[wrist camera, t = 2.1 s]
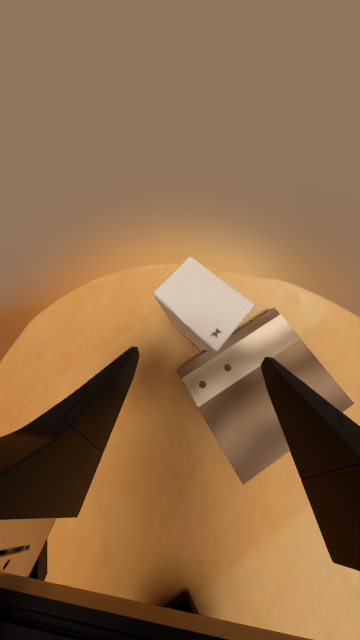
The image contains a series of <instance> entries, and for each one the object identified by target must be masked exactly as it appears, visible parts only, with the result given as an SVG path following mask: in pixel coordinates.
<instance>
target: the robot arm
mask: <svg viewBox="0 0 360 640" xmlns="http://www.w3.org/2000/svg"><path fill="white" fill-rule="evenodd" d="M138 360H139V351H138V348H137V347H130V348H129V349H128V350H127V351H125V352H124V353H123V354H122V355H120V356H119V357H118V358H117V359H115V360H114V361H113V362H111V363H110V364H109V365H108V366H106V367H105V368H104V369H103V370H101V371H100V372H99V373H98V374H96V375H95V376H94V377H93V378H91V379H90V380H89V381H87V382H86V383H85V384H84V385H82V386H81V387H80V388H79V389H77V390H76V391H75V392H73V393H72V394H71V395H69V396H68V397H67V398H65V399H64V400H62V401H61V402H60V403H58V404H57V405H55V406H54V407H52V408H51V409H49V410H48V411H47V412H45V413H44V414H42V415H41V416H39V417H38V418H37V419H35V420H34V421H32V422H31V423H29V424H28V425H26V426H24V427H22V428H21V429H19V430H17V431H15V432H12V433H10V434H8V435H5V436H2V437H0V640H312V639H307V638H303V637H298V636H293V635H289V634H284V633H280V632H275V631H270V630H266V629H261V628H257V627H252V626H248V625H243V624H238V623H234V622H229V621H225V620H220V619H215V618H211V617H206V616H202V615H198V613H197V611H196V608H195V606H194V604H193V602H192V599H191V597H190V595H189V593H188V592H183V593H182V594H181V595H179V596H178V597H177V598H175V599H174V600H173V601H172V602H170V603H169V604H168V605H166V606H165V607H160V606H156V605H151V604H147V603H142V602H138V601H133V600H128V599H124V598H119V597H115V596H110V595H105V594H101V593H96V592H92V591H87V590H83V589H78V588H73V587H69V586H64V585H60V584H55V583H50V582H46V581H44V580H45V578H46V575H47V537H48V535H49V533H50V531H51V529H52V527H53V525H54V523H55V521H56V519H57V518H72V517H78V514H79V512H80V510H81V507H82V505H83V502H84V500H85V497H86V495H87V492H88V490H89V487H90V485H91V482H92V480H93V477H94V475H95V472H96V470H97V467H98V465H99V462H100V460H101V457H102V455H103V452H104V450H105V447H106V445H107V442H108V440H109V437H110V435H111V432H112V430H113V427H114V425H115V422H116V420H117V417H118V415H119V412H120V410H121V407H122V405H123V402H124V400H125V397H126V395H127V392H128V390H129V387H130V385H131V382H132V380H133V377H134V374H135V370H136V367H137V363H138ZM261 370H262V374H263V378H264V381H265V385H266V389H267V392H268V394H269V397H270V400H271V402H272V405H273V407H274V410H275V413H276V415H277V418H278V421H279V423H280V426H281V428H282V431H283V434H284V436H285V439H286V442H287V444H288V447H289V449H290V452H291V455H292V457H293V460H294V462H295V465H296V468H297V470H298V473H299V476H300V478H301V481H302V484H303V486H304V489H305V492H306V494H307V497H308V499H309V502H310V505H311V507H312V510H313V513H314V515H315V518H316V520H317V523H318V526H319V528H320V531H321V534H322V536H323V539H324V541H325V544H326V547H327V549H328V552H329V554H330V557H331V559H332V561H333V563H336V564H339V565H342V566H345V567H349V568H352V569H355V570H358V571H360V426H359V425H358V424H356V423H355V422H354V421H352V420H351V419H350V418H349V417H347V416H346V415H345V414H343V413H342V412H341V411H340V410H338V409H337V408H335V407H334V406H333V405H332V404H331V403H329V402H328V401H327V400H326V399H324V398H323V397H322V396H321V395H319V394H318V393H317V392H316V391H314V390H313V389H312V388H311V387H309V386H308V385H307V384H305V383H304V382H303V381H302V380H300V379H299V378H298V377H297V376H295V375H294V374H293V373H292V372H290V371H289V370H288V369H287V368H285V367H284V366H283V365H281V364H280V363H279V362H278V361H276V360H275V359H274V358H272V357H265V358H264V360H263V361H262V363H261Z"/></svg>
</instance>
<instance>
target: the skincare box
mask: <svg viewBox="0 0 360 640" xmlns="http://www.w3.org/2000/svg"><path fill="white" fill-rule="evenodd" d="M153 295H154V297H155V298H156V300H157V301H158V303H159V304H160V306H161V308H162V309H163V311H164V312H165V314H166V315H167V317H168V318H169V320H170V321H171V323H172V324H173V325H174V326H175V327H176V328H177V329H178V330H179V331H180V332H181V333H182V334H183V335H184V336H185V337H186V338H188V339H189V340H190V341H191V342H192V343H193V344H194V345H195V346H196V347H197V348H198V349H200V350H207V351H216V352H217V351H219V349H220V348H221V347H222V346H223V344H224V343H225V342H226V341H227V339H228V338H229V337H230V336H231V335H232V333H233V332H234V331H235V330H236V328H237V327H238V326H239V325H240V324H241V322H242V321H243V320H244V319H245V318H246V316H247V315H248V314H249V313H250V312H251V310H252V309H253V308H254V307H255V304H254V303H253V302H251V301H250V300H248V299H247V298H246V297H244V296H243V295H242V294H240V293H239V292H238V291H237V290H235V289H234V288H233V287H231V286H230V285H228V284H227V283H226V282H224V281H223V280H222V279H220V278H219V277H218V276H216V275H215V274H213V273H212V272H211V271H209V270H208V269H207V268H205V267H204V266H203V265H201V264H200V263H199V262H197V261H196V260H195V259H194V258H192V257H191V256H190V257H189V258H188V259H187V260H186V261H185V262H184V263H183V264H182V265H181V266H180V267H179V268H177V269H176V270H175V271H174V272H173V273H172V274H171V275H170V276H169V277H168V278H167V279H166V280H165V281H164V282H163V283H162V284H161V285H160V286H159V287H158V288H157V289H156V290H155V291H154V292H153Z"/></svg>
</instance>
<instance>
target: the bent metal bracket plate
mask: <svg viewBox="0 0 360 640" xmlns="http://www.w3.org/2000/svg"><path fill="white" fill-rule="evenodd" d="M265 357H272V358H274V359H275V360H276V361H278V362H279V363H280V364H281V365H283V366H284V367H285V368H287V369H288V370H289V371H290V372H292V373H293V374H294V375H295V376H297V377H298V378H299V379H300V380H302V381H303V382H304V383H305V384H307V385H308V386H309V387H311V388H312V389H313V390H314V391H316V392H317V393H318V394H319V395H321V396H322V397H323V398H324V399H326V400H327V401H328V402H329V403H331V404H332V405H333V406H334V407H335V408H337V409H338V410H340V411H341V412H343V411H345V410H346V409H347V408H349V407H350V406H352V405H353V404H354V403H353V402H352V400H351V399H350V398H349V397H348V396H347V394H346V393H345V392H344V391H343V390H342V388H341V387H340V386H339V385H338V384H337V382H336V381H335V380H334V379H333V378H332V376H331V375H330V374H329V373H328V372H327V370H326V369H325V368H324V367H323V366H322V364H321V363H320V362H319V361H318V359H317V358H316V357H315V356H314V355H313V353H312V352H311V351H310V350H309V349H308V347H307V346H306V345H305V344H304V343H303V341H302V340H301V339H300V337H299V336H298V335H297V333H296V332H295V331H294V330H293V329H292V327H291V326H290V325H289V324H288V323H287V321H286V320H285V319H284V318H283V316H282V315H281V314H279V313H278V311H277V310H276V309H275V308H272V309H270V310H268V311H266V312H265V313H263V314H262V315H260V316H259V317H257V318H255V319H254V320H252V321H251V322H249V323H248V324H246V325H245V326H243V327H242V328H240V329H238V330H237V331H235V332H234V333H232V335H231V336H230V337H229V338H228V339H227V341H226V342H225V343H224V344H223V346H222V347H221V348H220V349H219V351H217V352H216V351H207V350H206V351H204V352H203V353H201V354H200V355H198V356H197V357H195V358H194V359H192V360H191V361H189V362H187V363H186V364H184V365H183V366H181V367H180V368H178V369H177V372H178V373H179V375H180V377H181V378H182V381H183V382H184V384H185V386H186V387H187V389H188V391H189V393H190V394H191V396H192V398H193V400H194V401H195V403H196V405H197V406H198V408H199V410H200V411H201V413H202V415H203V416H204V418H205V420H206V422H207V423H208V425H209V427H210V429H211V430H212V432H213V434H214V435H215V437H216V439H217V441H218V442H219V444H220V446H221V448H222V449H223V451H224V453H225V454H226V456H227V458H228V460H229V461H230V463H231V465H232V467H233V468H234V470H235V472H236V473H237V475H238V477H239V479H240V480H241V482H242V484H245V483H246V482H248V481H249V480H250V479H252V478H253V477H254V476H256V475H257V474H258V473H260V472H261V471H263V470H264V469H265V468H267V467H268V466H269V465H271V464H272V463H274V462H275V461H276V460H278V459H279V458H280V457H282V456H283V455H284V454H286V453H287V452H289V451H290V449H289V447H288V444H287V442H286V439H285V436H284V434H283V431H282V428H281V426H280V423H279V421H278V418H277V415H276V413H275V410H274V407H273V405H272V402H271V400H270V397H269V394H268V392H267V389H266V385H265V381H264V378H263V374H262V370H261V363H262V361H263V360H264V358H265Z"/></svg>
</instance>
